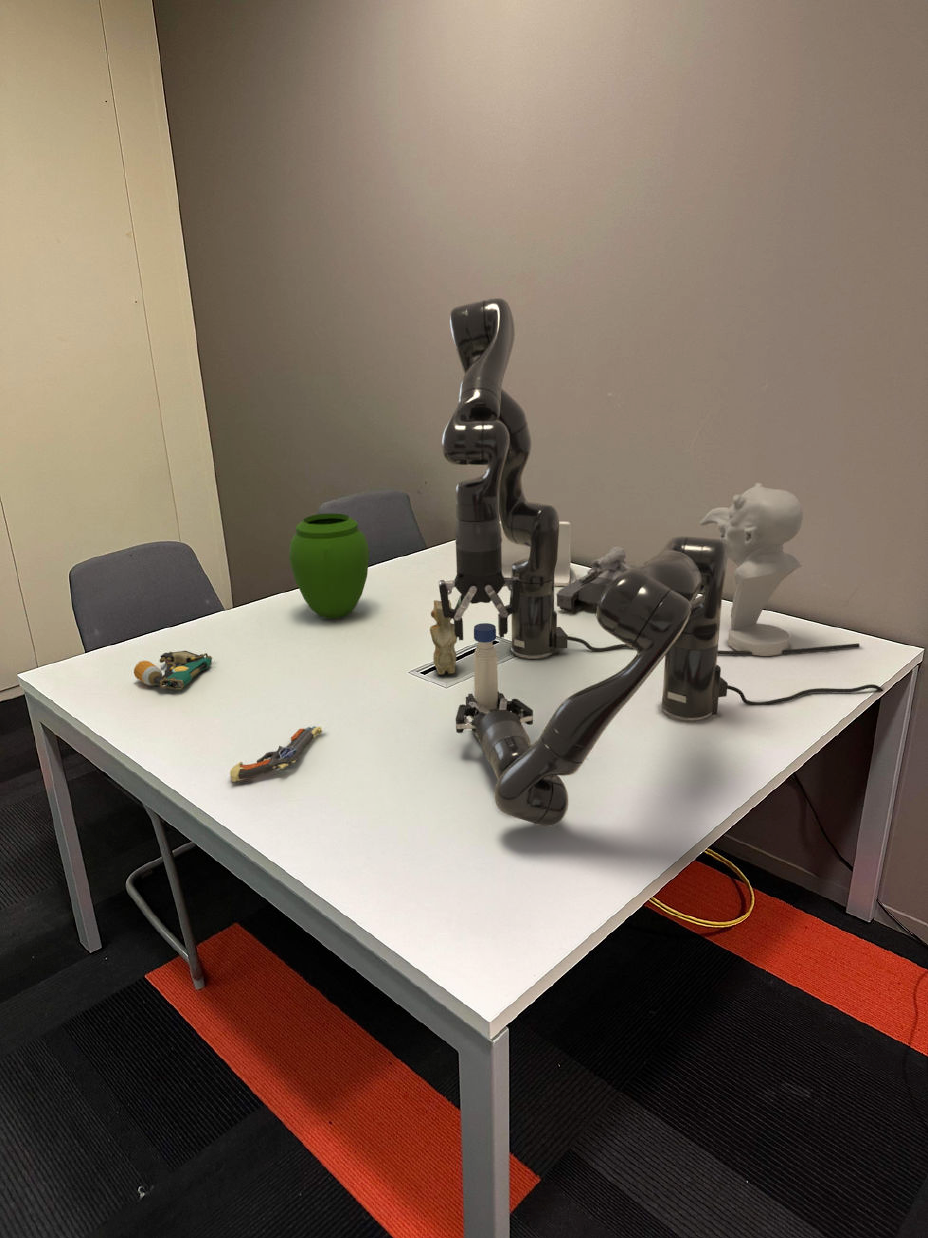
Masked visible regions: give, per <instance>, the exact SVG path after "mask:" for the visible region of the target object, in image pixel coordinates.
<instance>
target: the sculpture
mask: <svg viewBox="0 0 928 1238" xmlns="http://www.w3.org/2000/svg"><path fill="white" fill-rule="evenodd" d="M448 600H449V607H450V608H452V602H451V601H450V599H448ZM430 617H431V618H432V619H433V620H434V621H435V622H436V623H435V624H433V625H431V626H429V633H430V636H431V640H432V641H431V642H432V643H433V645H434V648H435V649H434V652H433V656H432V657H433V659H432V660H433V665H434V667H435V668H436V671H437V674H438V675H445V674H446V672H447V673H448V674H455V673H456V666H457V665H456V663H457V652H456V649H455V644H456V643H457V642H458V637H456V636H455V633H454V623H453V622H451V621H452V620H453V619H452V618H449V617H448V618H445V617H444V615H443V610H442V603H441V600H433V610H431V612H430Z"/></svg>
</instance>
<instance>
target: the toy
mask: <svg viewBox="0 0 928 1238" xmlns="http://www.w3.org/2000/svg"><path fill="white" fill-rule="evenodd" d="M626 557H627V556H626V551H625V549H624V548H622V547H621V546H614V547H612V548H611V549H610V550H609V552H608V553H607V554H605V555H604V556H601V557H599V558H598V559H597V557H596V558H594V559H593V560H592V561H590V562H589V563H590V564H591V565H592V567H591V568H590V569H589V570H587V573H586V575H584V576H582V577H580V578H578V579H577V580H575V581H573V582H570V583H569V585H567V586H563V587H562V588H560V589H559V590H558V591H557V592H556V607H558V608H559V609H560V610H562V611H566V612H572V613H575V612H577V611H579V610H581V609H582V608H585V607H586V606H588V605H592V606H598V603H599V601H600V598H601V596H602V594H603V593H604V591H605V590H606V588H607V587H608V586H609V585H610V584H611V582H612V581H613V580H614V579H615V578H617V577H618V576H619V575H620V574H622V573H623V572H625V571H627V570H629V569H631V568H634V567H637V566H635V565H629V564H628V563H627V562H626V561H625V559H626Z"/></svg>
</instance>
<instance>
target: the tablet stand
mask: <svg viewBox="0 0 928 1238" xmlns="http://www.w3.org/2000/svg"><path fill="white" fill-rule="evenodd" d="M500 526H501V537H502V543H501V552H502V575H503V576H504V577H507V578H511V567H512V565H513V563H515V562H516V561H519V560H522V559H526V558H529V556H530V547H528V546H523V545H518V544H514V543H512V542H510V541H509V540H508V539H507V538H506V536H505V535H504V532H503V529H502V525H501V520H500ZM571 560H572V558H571V522H569V521H559V540H558V557H557V563H556V567H555V572H554V587H556V586H557V587H566V586H567V585H569V584H570V580H571V579H570V578H571V565H572V564H571ZM504 586H507V585H506V584H504Z"/></svg>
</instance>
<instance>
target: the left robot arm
mask: <svg viewBox="0 0 928 1238" xmlns="http://www.w3.org/2000/svg"><path fill="white" fill-rule="evenodd" d="M449 328H450V332H451V337H452V341H453V344H454V347H455V350H456V353H457V356H458V360H459V362H460V365H461V368H462V370H463V374H464V375H463V377H462V379H461V382H460V385H459V390H458V391H459V392H458V398H457V405H456V409H455V410H454V412H453V414H452V415H451V417H450V419H448V422H447V424H446V426H445V428H444V431H443V434H442V438H441V439H442V440H441V451H442V454H443V456H444V458H445V459H446V461H448V463H450V464H451V465H453V466H458V467H469V466H471V467H473V466H475V467H476V466H477V467H478V466H479V467H480V466H485V467H487V469H486V471H485V472H484V473H483V474H481V475H479V476H477V477H473V478H467V479H465V480H462V481H459V482H458V483H457V485H456V487H455V512H456V514H455V515H456V520H455V521H456V522H455V529H454V530H455V558H456V563H455V564H456V575H455V577H454V580H453V579H452V580H446V581H445V580H444V579H440V580H439V581H438V589H439V596H440V601H441V603H442V610H443V615H444V617H445V618H448V617H449V618H452V619H451V620H453V624H454V633H455V636H456V637H457V638H458V641H464V620H463V615H464V614H465V611H466V610H467V609H468V608H469V606H470V604H471V605H473V604H474V605H476V604H479V603H483V604H489V603H491V602H492V603H493V605H494V607H495V608H496V610H497V612H498V614H497V616H498V617H497V626H498V637H499V638H500V639H502V638H505V635H507V634H508V632H509V628H508V627H509V625H508V624H509V623H508V622H509V621H508V619H509V616H510V615H511V617H510V618H511V621H510V622H511V643H510V644H511V647H510V651H511V653H512V655H513V656H515V657H518V658H521V659H525V660H526V659H527V660H540V659H545V658H548V657H550V656H552V655H557V654H558V653H557V650H562V649H564V650H565V649H568V645H569V643H568V641H571V642H576V643H580V644H582V645H584V646H585V648H587V649H588V650H590V651H592V652H598V653H599V652H607V651H612V650H615V649H616V650H617V649H627V648H628V649H632V648H631V647H630V646H628V645H627V644H625V643H619V644H614V645H610V646H605V647H595V646H592V645H590V643H589V642H588V641H586V640H584V639H582V638H579V637H574V636H568V634H567V633H566V631H565V630H564V629H563V628H562V627H561V626H558V613H557V612H556V611H555V586H554V572H555V567H556V563H557V557H558V540H559V522H560V519H559V518H560V517H559V514H558V511H557V509H556V508H555V507H554V506H553V505H551V504H547V503H541V502H540V503H539V502H533V501H528V500H527V499H526V497H525V494H524V490H523V484H522V476H523V473H524V470H525V467H526V466H527V463H528V460H529V457H530V455H531V451H532V438H531V434H530V428H529V425H528V419H527V416H526V414H525V411H524V409H523V408H522V406H521V405H520V404H519V403H518V402H517V401H516V400H515V398H513V397H512V396H511V395H510V394H509V393H508V392H507V391H506V390H505V389H503V382H504V378H505V374H506V370H507V367H508V365H509V361H510V358H511V354H512V352H513V351H512V350H513V347H514V343H515V336H516V333H515V330H516V329H515V321H514V316H513V313H512V310H511V306H510V305H509V303H508V302H507V301H506V300H505V299H504V298H501V297H494V298H493V297H492V298H487V299H483V300H479V301H474V302H470V303H465V304H462V305H458V306H455V307H453V308H452V309H451V310H450V314H449ZM500 521H501V525H502V529H503V532H504V535H505V536H506V538H507V539H508V540H509V541H510V542H512V543H514V544H518V545H523V546H528V547H530V556H529V558H526V559H522V560H519V561H516V562H515V563H513V565H512V567H511V578H507V577H504V576H503V575H502V552H501V543H502V537H501V526H500ZM504 584H506V585H504ZM504 586H506V587H507V590H508V591H510V594H509V603H508V604H506V605H505V604H504V602H503V601H502V599H501V597H500V596H499V593H500V591H501V590H502V589H503V587H504ZM454 588H455V589H456V590H457V591H458V592H459V593H460V596H459V598H458V599H457V602H456V605H455V606H454V608H452V607H451V608H450V607H449V600H450V599H449V595H451V594H452V593H453V589H454ZM853 648H855V649H856V648H860V643H847V644H837V645H828V646H827V645H826V646H825V645H824V646H816V647H805V648H791V649H790V648H789V649H788V650H783V651H782V652H781V653H782V654H781V655H784V654H799V653H810V652H821V651H832V650H842V649H843V650H845V649H853ZM752 654H753V653H752V652H750V651H737V650H719V649H718V654H717V655H725V656H726V655H728V656H729V655H730V656H731V655H732V656H733V655H734V656H749V655H750V656H753V655H752Z"/></svg>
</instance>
